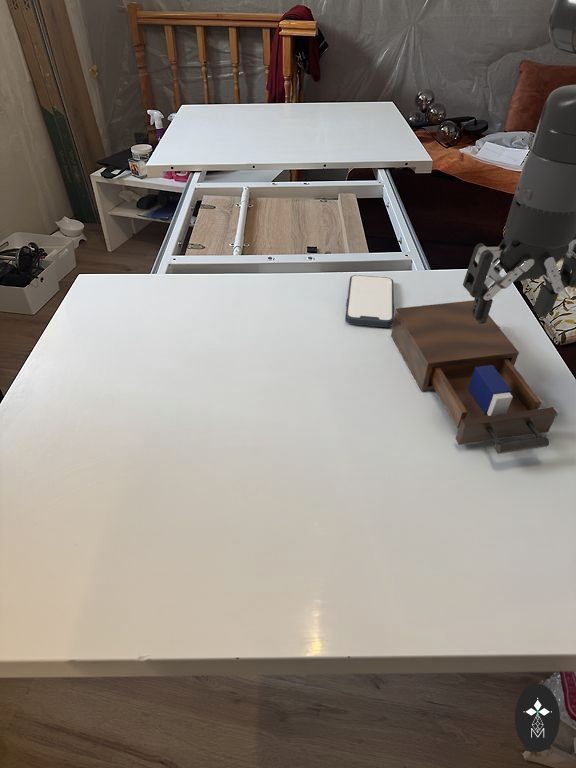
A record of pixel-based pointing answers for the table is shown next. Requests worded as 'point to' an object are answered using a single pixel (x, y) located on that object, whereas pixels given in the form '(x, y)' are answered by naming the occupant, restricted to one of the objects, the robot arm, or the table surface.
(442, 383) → the drawer
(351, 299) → the phone case
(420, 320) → the cabinet
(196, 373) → the table surface
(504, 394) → the eraser
